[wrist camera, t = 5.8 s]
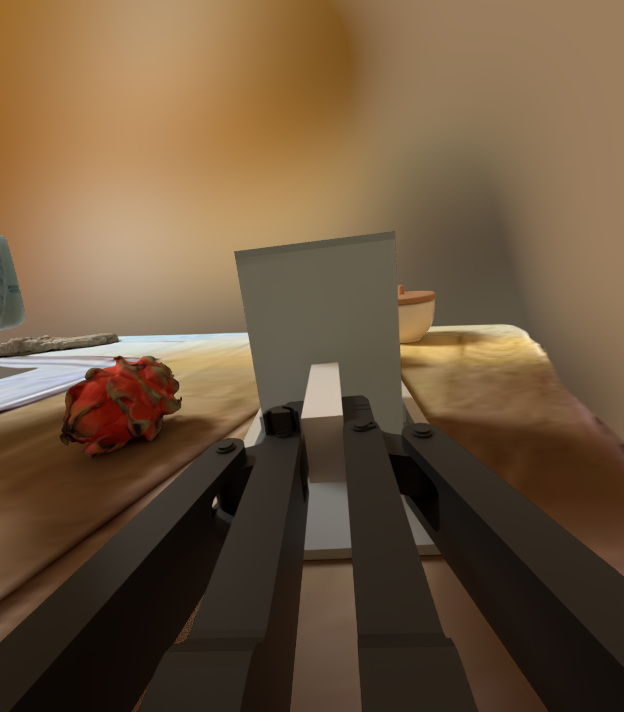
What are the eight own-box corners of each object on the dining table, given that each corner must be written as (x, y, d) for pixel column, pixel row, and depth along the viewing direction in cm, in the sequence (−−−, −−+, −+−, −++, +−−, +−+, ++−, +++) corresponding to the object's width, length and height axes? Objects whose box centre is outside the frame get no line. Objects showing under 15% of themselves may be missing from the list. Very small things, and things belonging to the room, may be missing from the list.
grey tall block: (407, 456, 21) (398, 230, 17) (267, 466, 21) (230, 251, 18) (384, 401, 29) (375, 243, 26) (285, 409, 30) (263, 257, 26)
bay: (493, 552, 14) (498, 435, 13) (200, 564, 16) (172, 458, 14) (384, 362, 43) (381, 320, 42) (284, 372, 45) (278, 330, 43)
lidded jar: (365, 347, 53) (361, 291, 51) (380, 333, 62) (377, 285, 60) (433, 347, 48) (432, 285, 46) (438, 332, 58) (437, 279, 55)
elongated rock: (108, 351, 88) (127, 345, 98) (104, 332, 87) (123, 328, 97) (-21, 359, 87) (12, 352, 97) (-26, 340, 86) (7, 335, 96)
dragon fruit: (190, 420, 36) (103, 507, 26) (127, 383, 36) (15, 454, 26) (211, 366, 32) (117, 444, 22) (140, 324, 32) (12, 381, 22)
